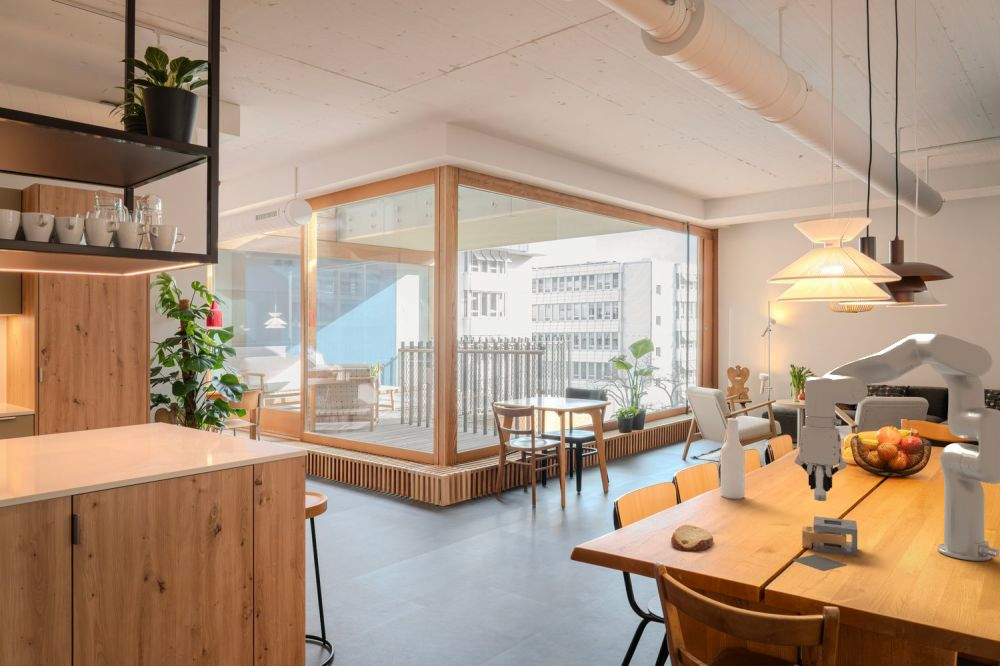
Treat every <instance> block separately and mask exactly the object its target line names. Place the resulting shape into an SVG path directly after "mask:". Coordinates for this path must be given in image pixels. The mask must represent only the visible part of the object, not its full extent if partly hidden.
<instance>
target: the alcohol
mask: <svg viewBox="0 0 1000 666" xmlns="http://www.w3.org/2000/svg"><path fill="white" fill-rule="evenodd" d="M726 424H727V430H726V440H725V442H724V444H723V445H722V446H721V449H720V495H721V497H723V498H725V499H731V500H740V499H743V498H744V497H745V492H746V491H745V489H746V487H745V485H746V480H745V478H746V477H745V475H746V470H745V469H746V452H745V448H744V446H743V445H742V444H741V442H740V435H739V433H740V432H739V419H738V418H735V417H729V418H727V423H726Z"/></svg>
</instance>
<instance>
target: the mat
mask: <svg viewBox="0 0 1000 666" xmlns="http://www.w3.org/2000/svg"><path fill="white" fill-rule="evenodd" d="M791 561H793V562H796V563H798V564H802V565H805V566H808V567H810V568H813V569H816V570H819V571H822V572H825V571H830V570H832V569H833V570H834V569H838V568H842V567H846V566H847V564H846V563H844V562H841V561H840V562H839V561H836V560H834V559H830V558H828V557H825V556H821V555H820V554H819V555H818V554H810V555H806V556H802V557H798V558H793V559H791Z"/></svg>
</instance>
